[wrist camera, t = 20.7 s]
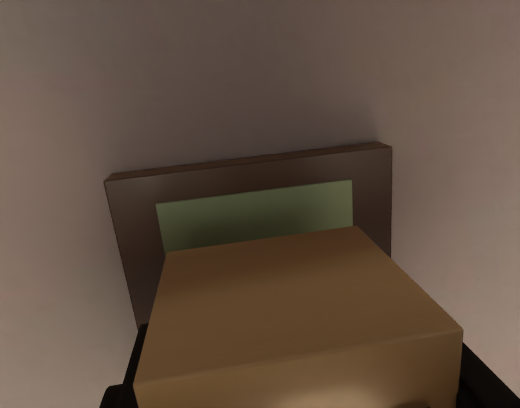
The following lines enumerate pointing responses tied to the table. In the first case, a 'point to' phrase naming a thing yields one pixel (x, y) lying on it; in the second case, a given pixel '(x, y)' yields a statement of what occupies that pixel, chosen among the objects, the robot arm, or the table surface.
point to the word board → (245, 205)
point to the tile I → (296, 329)
